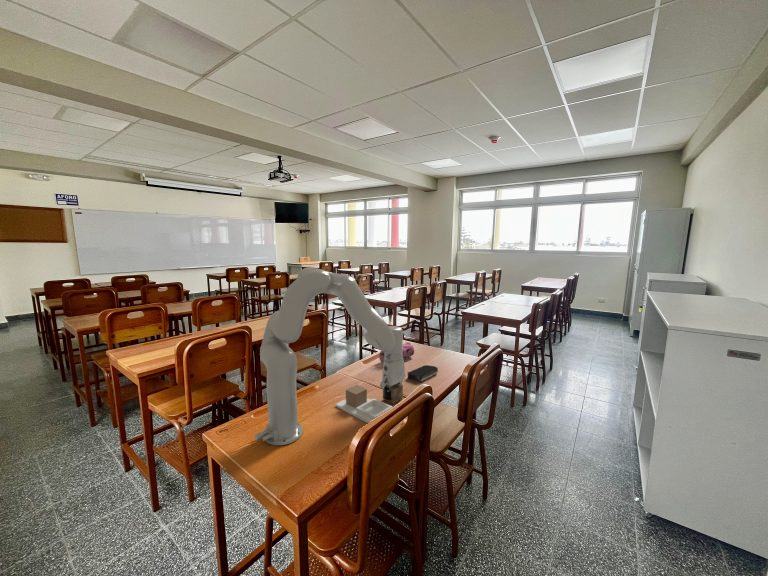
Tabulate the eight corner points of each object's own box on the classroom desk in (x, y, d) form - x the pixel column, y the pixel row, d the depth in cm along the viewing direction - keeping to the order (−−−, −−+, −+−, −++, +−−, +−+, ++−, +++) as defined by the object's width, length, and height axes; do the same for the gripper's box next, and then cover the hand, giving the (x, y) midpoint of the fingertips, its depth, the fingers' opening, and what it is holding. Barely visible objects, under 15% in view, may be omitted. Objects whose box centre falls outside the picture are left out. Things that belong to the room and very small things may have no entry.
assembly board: (375, 427, 111) (375, 409, 110) (335, 406, 125) (335, 390, 124) (396, 413, 120) (396, 396, 119) (356, 395, 134) (356, 380, 133)
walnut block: (393, 404, 126) (394, 390, 126) (382, 399, 130) (382, 385, 130) (402, 398, 131) (402, 385, 130) (391, 394, 135) (391, 381, 134)
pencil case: (389, 368, 164) (389, 352, 163) (377, 363, 171) (377, 347, 170) (415, 358, 179) (416, 343, 178) (404, 354, 186) (404, 339, 184)
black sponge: (419, 384, 146) (419, 377, 145) (405, 378, 151) (406, 371, 151) (439, 374, 157) (439, 367, 157) (426, 369, 163) (426, 363, 162)
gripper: (386, 364, 119) (386, 407, 122) (412, 352, 132) (411, 392, 135) (372, 359, 124) (372, 401, 126) (399, 348, 137) (398, 387, 139)
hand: (392, 396), depth 131 cm, fingers closed on walnut block, 6 cm apart
